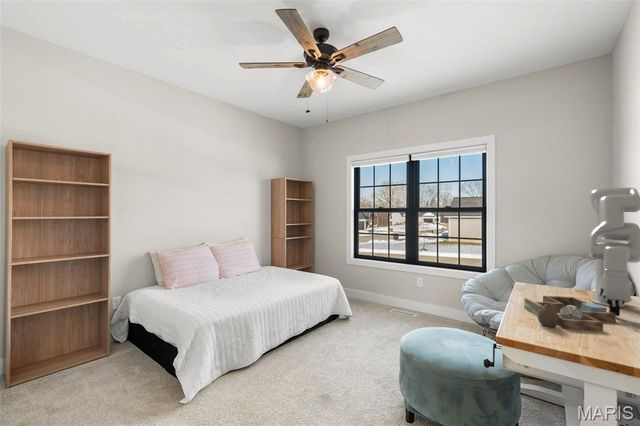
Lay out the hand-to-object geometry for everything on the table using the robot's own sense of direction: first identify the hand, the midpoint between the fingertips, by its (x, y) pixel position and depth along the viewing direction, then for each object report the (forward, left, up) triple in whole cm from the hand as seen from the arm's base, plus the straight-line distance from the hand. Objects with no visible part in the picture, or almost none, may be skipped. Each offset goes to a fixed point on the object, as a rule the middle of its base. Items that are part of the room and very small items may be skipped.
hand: (614, 314), depth 133 cm
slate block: (+8, 0, -1) cm, 8 cm away
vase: (+36, +17, -1) cm, 40 cm away
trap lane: (+18, 0, -1) cm, 18 cm away
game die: (+25, +12, -1) cm, 28 cm away
